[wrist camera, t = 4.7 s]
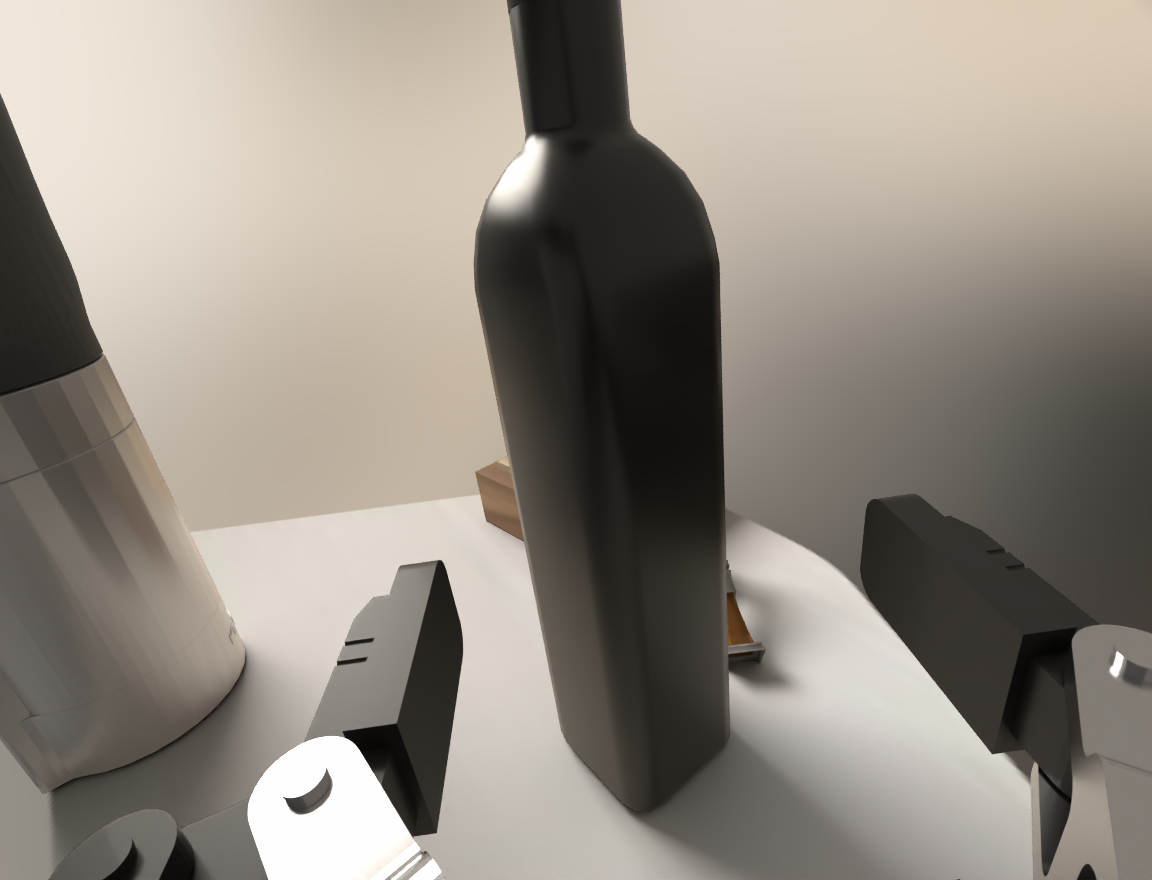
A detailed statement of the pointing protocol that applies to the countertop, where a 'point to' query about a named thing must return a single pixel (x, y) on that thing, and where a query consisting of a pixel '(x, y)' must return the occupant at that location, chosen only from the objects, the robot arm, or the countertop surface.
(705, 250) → the wine bottle
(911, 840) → the countertop surface
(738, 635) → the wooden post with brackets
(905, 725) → the countertop surface
